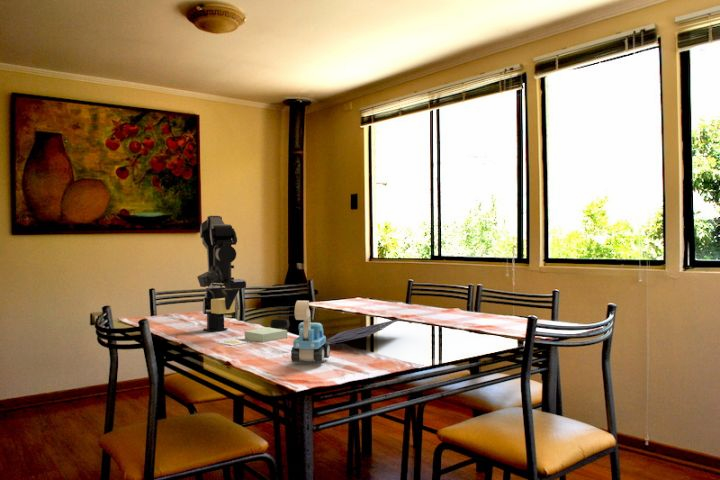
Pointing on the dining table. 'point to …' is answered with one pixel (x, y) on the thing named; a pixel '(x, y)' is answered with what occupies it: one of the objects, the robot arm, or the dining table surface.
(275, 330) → the base brick
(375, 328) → the dark grey flat panel
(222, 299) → the top brick
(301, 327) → the toy excavator
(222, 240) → the robot arm
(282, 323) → the tape measure
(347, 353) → the dining table surface
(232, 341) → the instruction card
